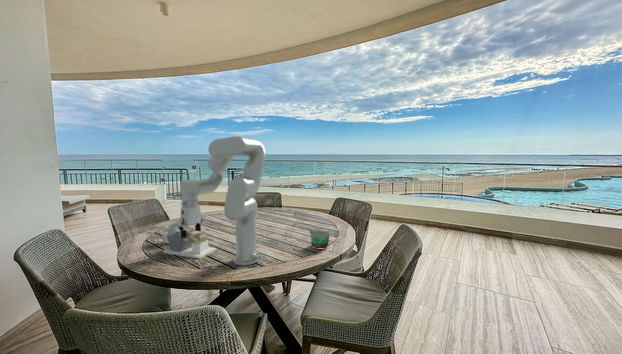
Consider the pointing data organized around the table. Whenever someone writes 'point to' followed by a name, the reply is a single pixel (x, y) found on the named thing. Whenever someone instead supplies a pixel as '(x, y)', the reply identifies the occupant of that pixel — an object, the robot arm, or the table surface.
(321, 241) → the food container
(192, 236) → the top rail
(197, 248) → the cup bracket
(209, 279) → the table surface
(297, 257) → the table surface
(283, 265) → the table surface
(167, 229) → the mug
